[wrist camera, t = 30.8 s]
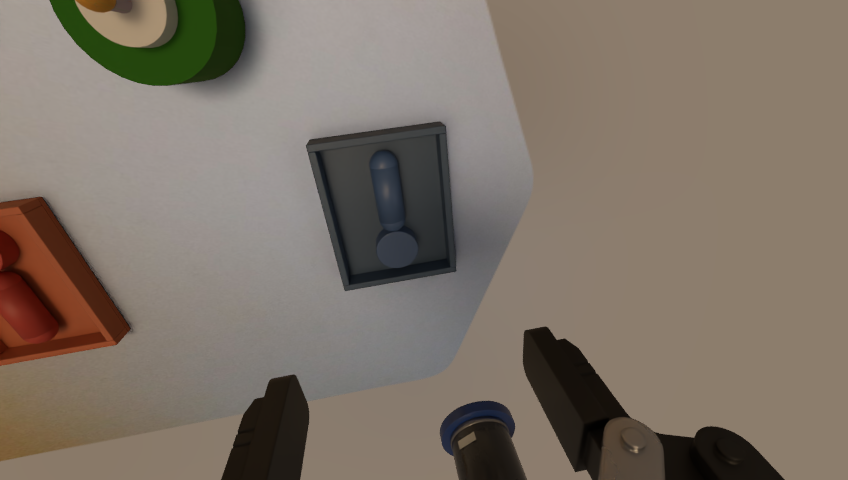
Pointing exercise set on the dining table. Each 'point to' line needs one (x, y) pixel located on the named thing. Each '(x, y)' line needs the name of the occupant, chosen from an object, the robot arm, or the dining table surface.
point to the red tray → (55, 286)
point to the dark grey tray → (356, 206)
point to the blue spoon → (391, 213)
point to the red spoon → (22, 300)
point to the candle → (157, 37)
